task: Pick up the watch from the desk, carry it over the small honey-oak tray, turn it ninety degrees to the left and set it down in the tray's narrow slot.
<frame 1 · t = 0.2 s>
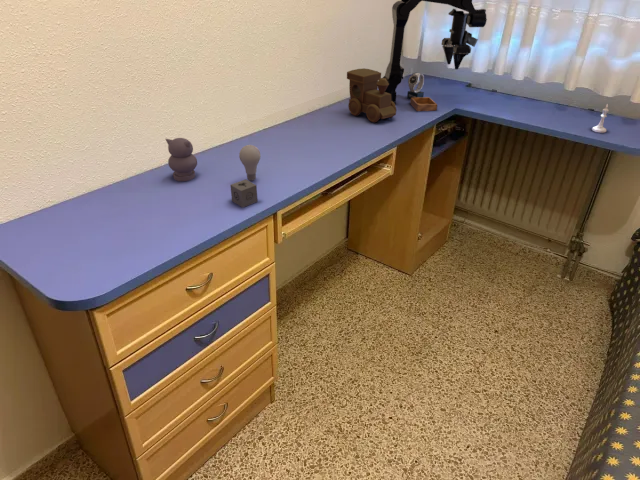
hand: (452, 66, 207), 14 cm above the table, tool pointing down, fingers open, 9 cm apart
wooden toy train: (370, 116, 195), on the table
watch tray: (423, 107, 206), on the table
lightbulb: (251, 181, 144), on the table
watch: (414, 99, 216), on the table
dark grey engraved cube: (244, 202, 133), on the table
chess piece: (598, 131, 183), on the table
cat figurine: (185, 177, 146), on the table
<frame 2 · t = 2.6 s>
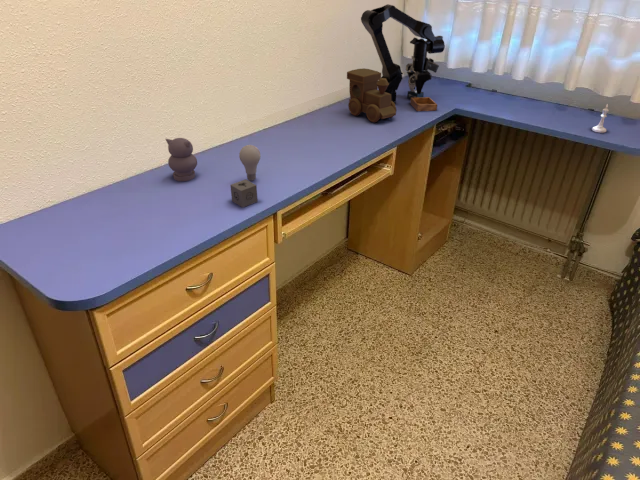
hand: (416, 91, 214), 3 cm above the table, tool pointing down, fingers closed on watch, 7 cm apart
watch: (414, 99, 216), on the table, touching gripper
everything else where it was.
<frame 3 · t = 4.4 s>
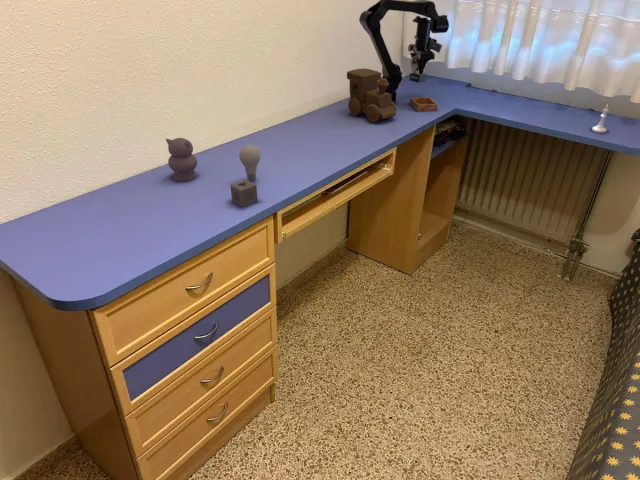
hand: (418, 72, 209), 12 cm above the table, tool pointing down, fingers closed on watch, 5 cm apart
watch: (417, 81, 211), point 8 cm above the table, touching gripper
everything else where it was.
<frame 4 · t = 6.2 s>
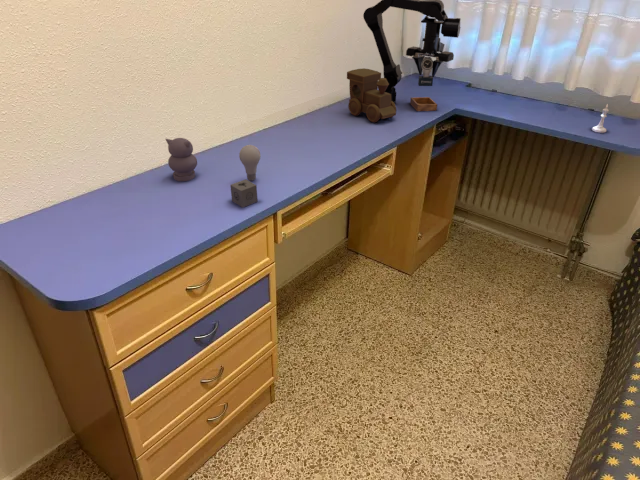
hand: (426, 75, 199), 13 cm above the table, tool pointing down, fingers closed on watch, 5 cm apart
watch: (425, 85, 201), point 9 cm above the table, touching gripper
everything else where it was.
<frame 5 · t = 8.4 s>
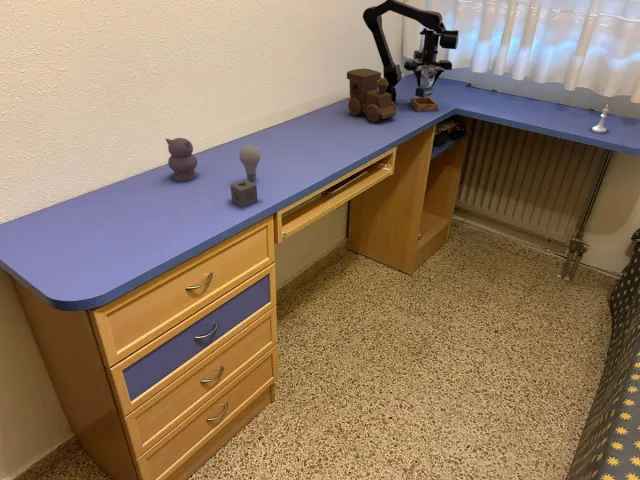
hand: (425, 86, 202), 9 cm above the table, tool pointing down, fingers closed on watch, 5 cm apart
watch: (423, 95, 204), point 5 cm above the table, touching gripper
everything else where it was.
when the fingers open (6 cm above the table, at t = 9.8 s): watch stays where it is, point 2 cm above the table.
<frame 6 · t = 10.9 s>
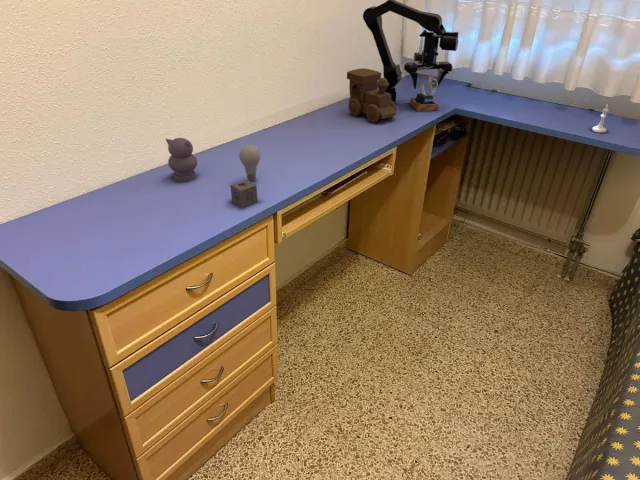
hand: (425, 88, 202), 8 cm above the table, tool pointing down, fingers open, 9 cm apart
watch: (423, 102, 205), point 2 cm above the table, touching gripper
everything else where it was.
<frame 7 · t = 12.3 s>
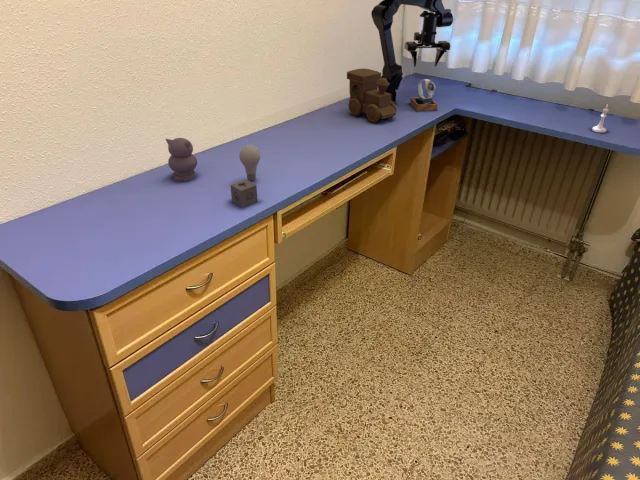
hand: (425, 66, 212), 13 cm above the table, tool pointing down, fingers open, 9 cm apart
watch: (423, 106, 206), resting on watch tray
everything else where it was.
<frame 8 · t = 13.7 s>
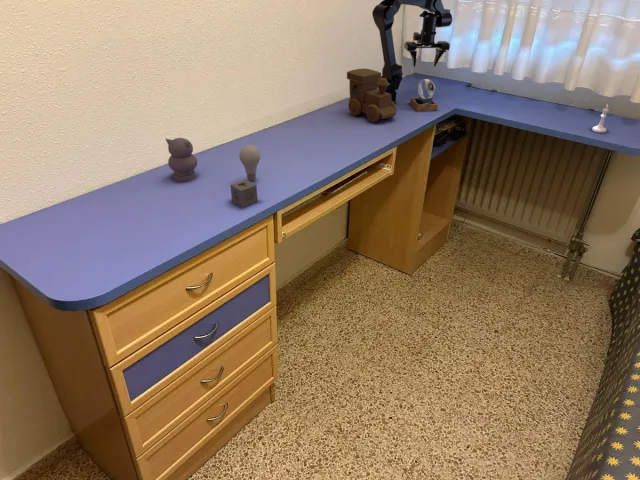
hand: (424, 66, 213), 13 cm above the table, tool pointing down, fingers open, 9 cm apart
nothing on the table moved.
at the end: watch 0.2 cm off-centre in the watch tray, point 0.2 cm above the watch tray's base; watch tilted 0°; the gripper is holding nothing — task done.
